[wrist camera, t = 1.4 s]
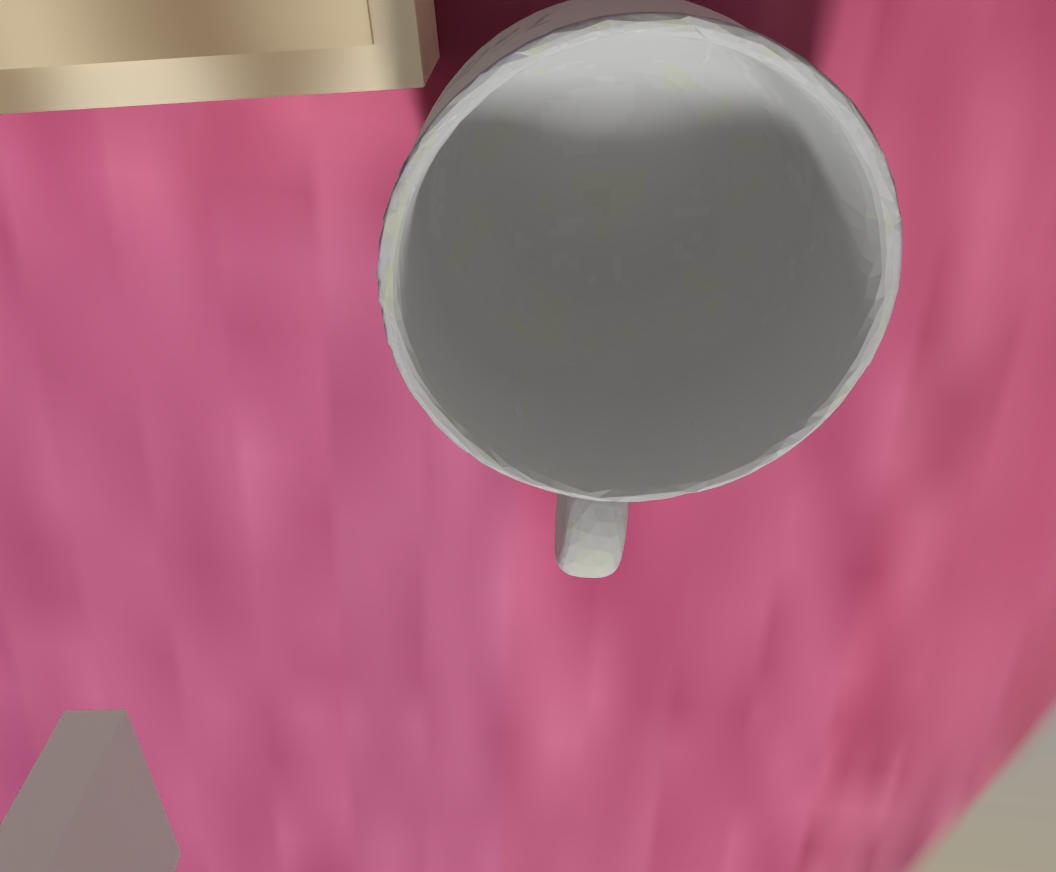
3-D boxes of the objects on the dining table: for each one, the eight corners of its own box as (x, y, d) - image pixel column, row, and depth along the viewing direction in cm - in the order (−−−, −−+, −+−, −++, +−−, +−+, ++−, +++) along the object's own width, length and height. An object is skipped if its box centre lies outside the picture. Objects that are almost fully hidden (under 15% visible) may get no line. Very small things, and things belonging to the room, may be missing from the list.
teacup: (478, -98, 24) (447, -67, 17) (893, 41, 25) (1017, 121, 18) (362, 391, 31) (307, 551, 24) (691, 479, 32) (727, 654, 25)
